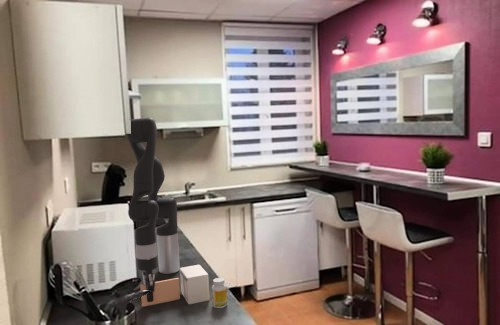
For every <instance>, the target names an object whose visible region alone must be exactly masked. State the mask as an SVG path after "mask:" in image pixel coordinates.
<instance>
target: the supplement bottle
mask: <svg viewBox="0 0 500 325" xmlns="http://www.w3.org/2000/svg"><path fill="white" fill-rule="evenodd" d="M212 284H213V285H211V303H212V304H211V306H212V307H213V308H215V309H223V308H225V307H227V306H228V296H227V288H228V287H227V285H226V284H225V279H224V278H223V277H216V278H214V279H213V280H212Z"/></svg>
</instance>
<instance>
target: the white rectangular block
mask: <svg viewBox="0 0 500 325" xmlns="http://www.w3.org/2000/svg"><path fill="white" fill-rule="evenodd" d="M178 272H179V283H180V294H181V295H182V296H183V298H184V299H185V301H186V302H187V304H188V305H193V304H197V303H202V302H209V301H210V300H211V299H210V282H209V280H210V279H209V274H208V272H207V271H206V270H205V269H204V268H203V266H202V265H201V264H195V265H189V266H184V267H183V266H182V267H180V269H179V271H178Z"/></svg>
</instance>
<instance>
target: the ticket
mask: <svg viewBox="0 0 500 325" xmlns="http://www.w3.org/2000/svg"><path fill="white" fill-rule="evenodd" d="M141 290H146V287H145V285H144V283H142V284H140V291H141ZM180 296H181V288H180V277H176V278H169V279H165V280H159V281H155V288H154V292H153V301H152V302H148V301H147V294H146V295H144V296H142V297H141V296H140V297H141V307H147V306H152V305H153V306H154V305H157V304H161V303H167V302H171V301H177V300H178V301H179V300H181V297H180Z"/></svg>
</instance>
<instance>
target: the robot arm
mask: <svg viewBox="0 0 500 325" xmlns="http://www.w3.org/2000/svg"><path fill="white" fill-rule="evenodd" d="M130 120H131V134H126V138H127V139H128V140H127V141H128V142H129V144H130V147H131V149H132V151H133V154H134V156H135V160H136V163H137V164H136V166H135V168H134V171H133V192H132V197H131V199H130V202H129V206H128V210H127V214H128V217H129V219H130V220H131V221H133V222H140V221H148V223H146V224H145V225H141V226H139V227H136V229H135V230H134V231H135V232H134V233H135V234H134V235H135V257H136V268H137V270H138V271H142V272H141V276H142V280H143V283H142V284H144V285H145V287H146V290H151V292H149V293H148V294H147V301H148V302H152V301H153V292H154V288H155V282H156V281H155V272H154V270H155V269H156V268H158V272H159V273H160V274H162V275H163V274H164V275H166V274H167V275H169V274H175V273H177V272H179V269H180V268H181V266H180V251H179V250H180V249H179V248H180V247H179V237H178V236H179V234H178V204H177V200H176V198H174V197H159V195H158V194H159V191H160V189H161V187H162V185H163V183H164V181H165V177H166V176H165V175H166V174H165V171H164V167H163V164H162V162H161V161H160V160H159V158H157V157H156V156H155V155H156V148H157V147H156V146H157V138H158V137H157V136H158V128H157V122H156V121H155V119H154V118H152V117H142V118H134V119H133V118H131V119H130ZM143 143H146V145H145V146H144V144H143ZM144 197H147V198H148V200H141V199H142V198H144ZM158 219H159V220H162V219H166V220H168V222H166V223H164V224H161V225H159V226H158V227H156V226H157V220H158Z"/></svg>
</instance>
